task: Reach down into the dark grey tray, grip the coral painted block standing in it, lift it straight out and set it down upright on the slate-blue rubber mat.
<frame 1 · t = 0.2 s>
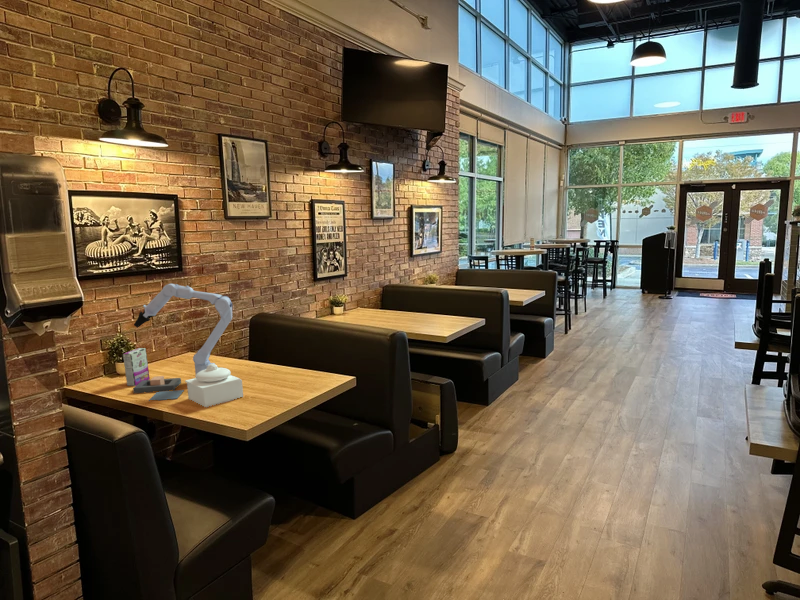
hand: (137, 324, 254), 31 cm above the table, tool tilted 45°, fingers open, 7 cm apart
candy bar box: (138, 383, 265), on the table
dark grey tray: (158, 387, 254), on the table
white domed box: (215, 399, 236), on the table
coral block: (158, 388, 255), resting in dark grey tray
rubber mat: (166, 395, 242), on the table
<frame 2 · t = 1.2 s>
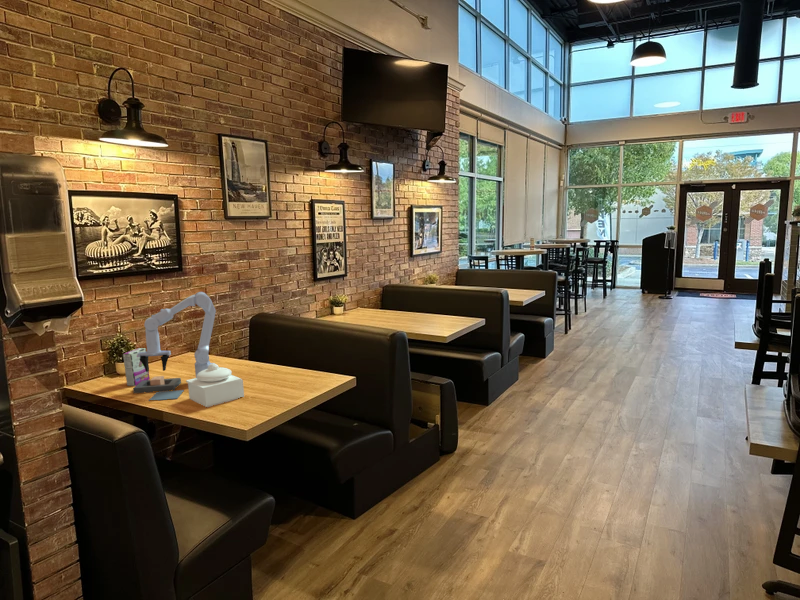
hand: (155, 370, 253), 9 cm above the table, tool pointing down, fingers open, 7 cm apart
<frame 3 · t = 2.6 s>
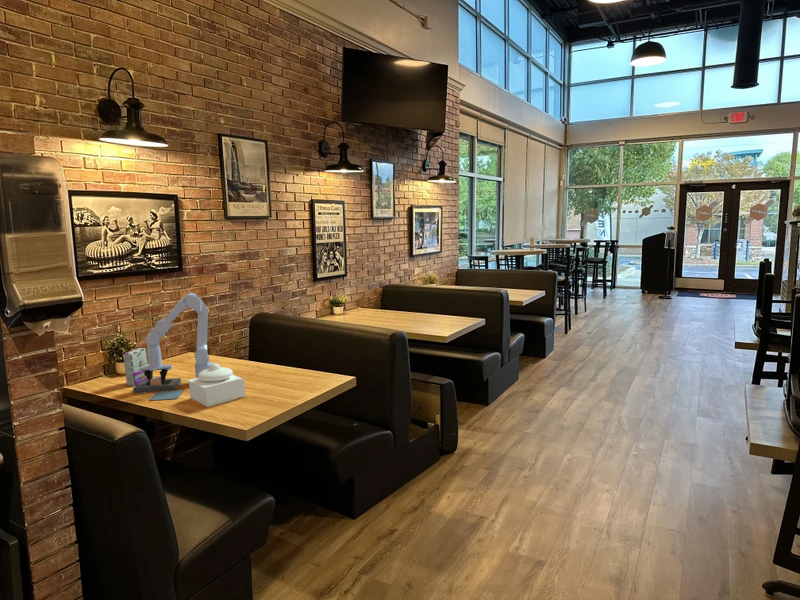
hand: (157, 385, 254), 1 cm above the table, tool pointing down, fingers closed on coral block, 4 cm apart
coral block: (158, 387, 254), resting in dark grey tray, touching gripper
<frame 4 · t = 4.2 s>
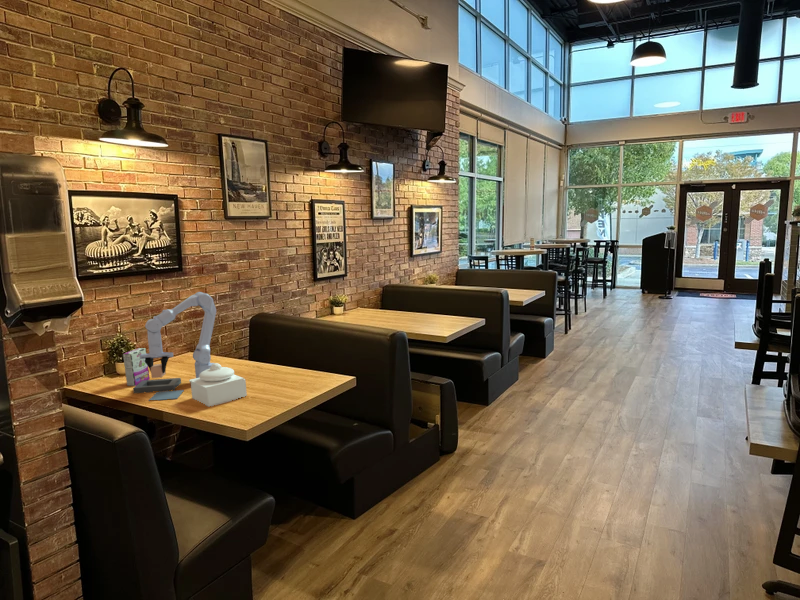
hand: (158, 372, 250), 8 cm above the table, tool pointing down, fingers closed on coral block, 4 cm apart
coral block: (158, 375, 250), point 7 cm above the table, touching gripper
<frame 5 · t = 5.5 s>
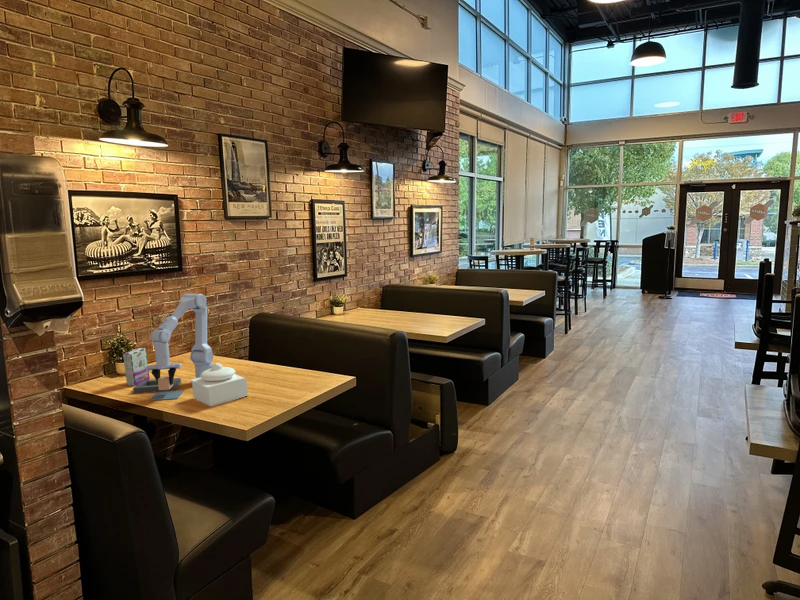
hand: (165, 384, 241), 5 cm above the table, tool pointing down, fingers closed on coral block, 4 cm apart
coral block: (166, 388, 241), point 4 cm above the table, touching gripper
when the fingers open (3 cm above the table, at t = 6.3 s): coral block drops 1 cm, resting on rubber mat.
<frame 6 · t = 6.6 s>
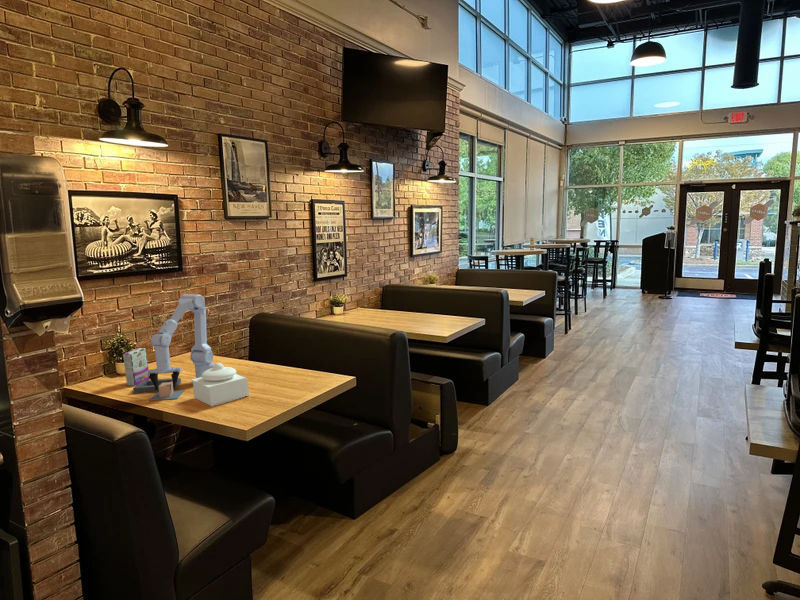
hand: (166, 388, 241), 3 cm above the table, tool pointing down, fingers open, 7 cm apart
coral block: (166, 394, 242), resting on rubber mat
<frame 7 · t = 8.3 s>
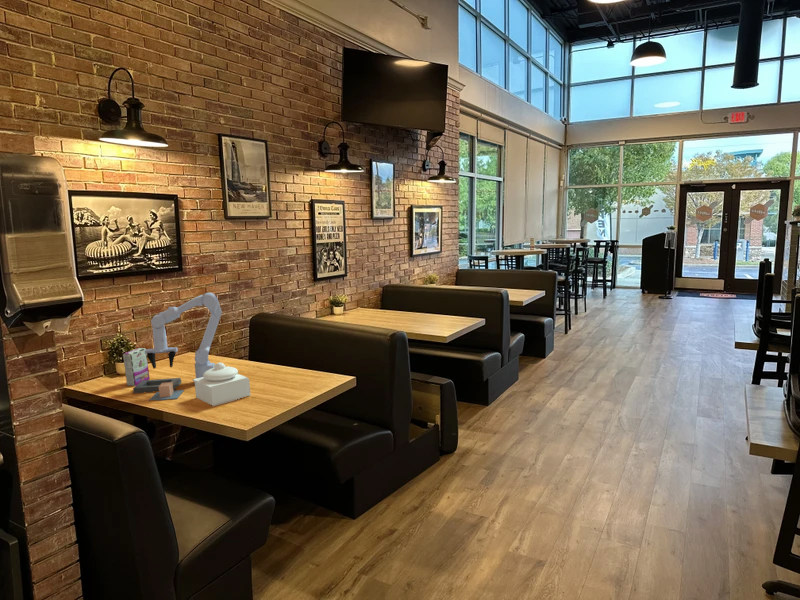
hand: (163, 367, 256), 9 cm above the table, tool pointing down, fingers open, 7 cm apart
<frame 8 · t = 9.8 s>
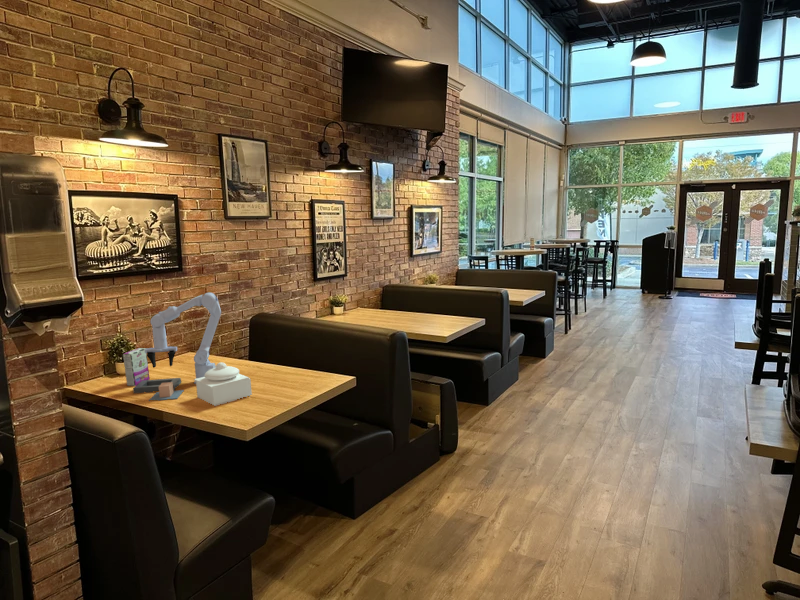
hand: (162, 366, 257), 9 cm above the table, tool pointing down, fingers open, 7 cm apart
at the end: coral block inside the target area on the rubber mat (0.1 cm from its centre), point 0.4 cm above the rubber mat's base; coral block tilted 0°; the gripper is holding nothing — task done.
